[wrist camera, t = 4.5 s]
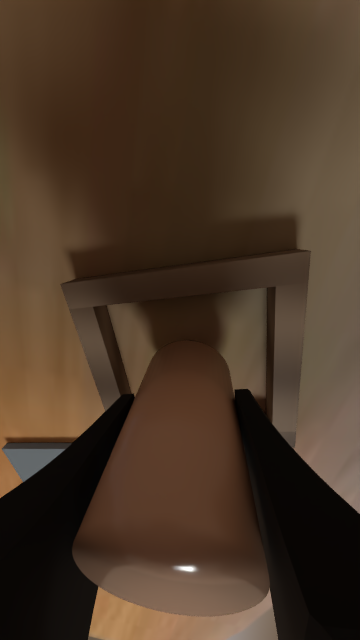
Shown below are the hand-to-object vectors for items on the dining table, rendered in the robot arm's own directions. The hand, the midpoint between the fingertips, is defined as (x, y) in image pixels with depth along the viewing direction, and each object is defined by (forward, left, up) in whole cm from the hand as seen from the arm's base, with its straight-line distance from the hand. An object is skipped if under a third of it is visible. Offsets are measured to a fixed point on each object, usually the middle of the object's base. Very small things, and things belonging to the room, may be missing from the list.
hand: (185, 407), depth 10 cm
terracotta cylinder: (0, 0, -2) cm, 2 cm away
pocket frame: (0, 0, -4) cm, 4 cm away
